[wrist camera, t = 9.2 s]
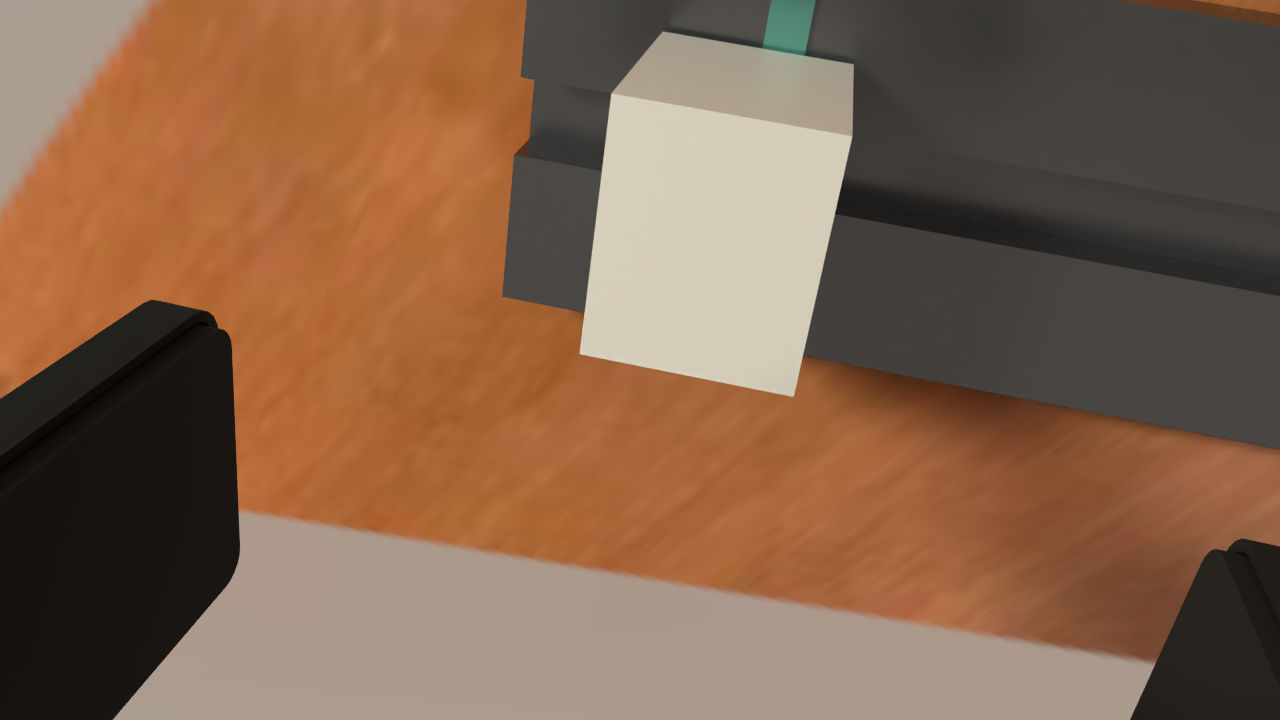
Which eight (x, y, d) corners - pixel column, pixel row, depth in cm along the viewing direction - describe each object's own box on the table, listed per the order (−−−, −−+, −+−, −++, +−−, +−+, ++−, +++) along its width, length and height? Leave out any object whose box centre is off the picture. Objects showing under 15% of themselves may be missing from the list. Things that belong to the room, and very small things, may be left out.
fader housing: (1738, 89, 20) (1816, 115, 19) (1520, 459, 24) (1570, 508, 23) (557, -103, 22) (533, -95, 21) (523, 266, 26) (501, 298, 25)
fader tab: (854, 51, 22) (852, 136, 16) (808, 259, 24) (793, 396, 19) (672, 20, 22) (611, 93, 17) (642, 228, 24) (579, 353, 19)
